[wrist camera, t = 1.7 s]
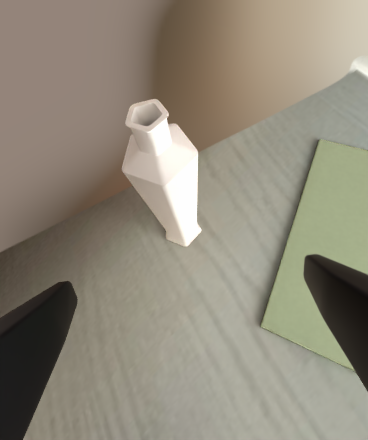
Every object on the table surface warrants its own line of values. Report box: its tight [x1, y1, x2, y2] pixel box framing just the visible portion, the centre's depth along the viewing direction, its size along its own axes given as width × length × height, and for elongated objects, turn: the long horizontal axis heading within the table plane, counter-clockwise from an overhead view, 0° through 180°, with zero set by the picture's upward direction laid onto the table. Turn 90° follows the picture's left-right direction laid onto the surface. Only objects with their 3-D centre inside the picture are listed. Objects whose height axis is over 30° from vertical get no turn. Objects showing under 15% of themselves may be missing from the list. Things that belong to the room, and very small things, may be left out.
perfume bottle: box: [122, 99, 201, 247], centre depth 18 cm, size 5×4×15 cm
